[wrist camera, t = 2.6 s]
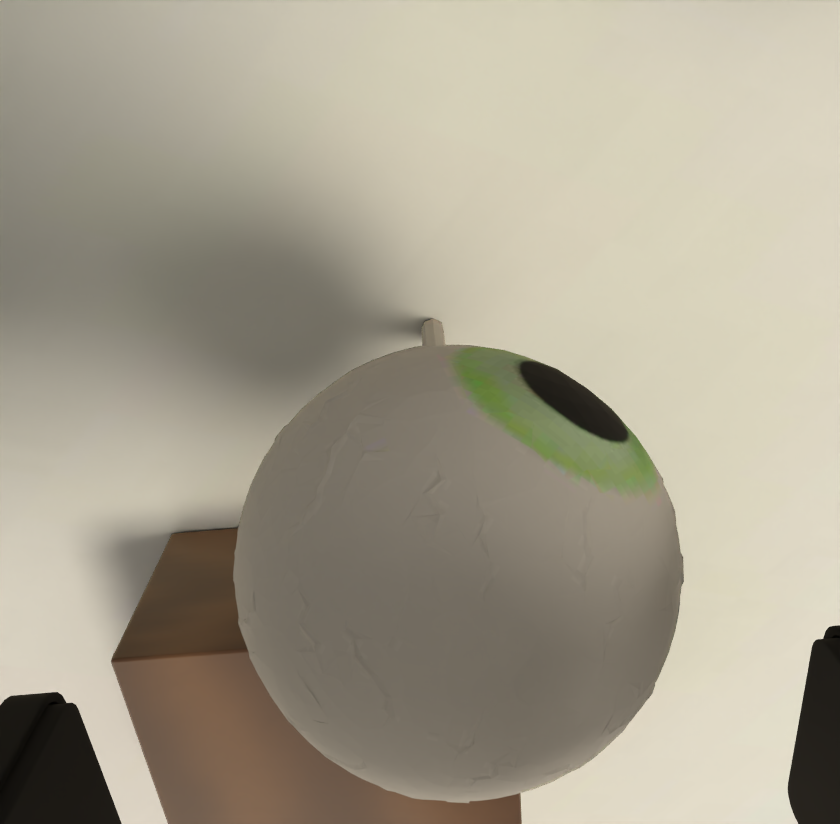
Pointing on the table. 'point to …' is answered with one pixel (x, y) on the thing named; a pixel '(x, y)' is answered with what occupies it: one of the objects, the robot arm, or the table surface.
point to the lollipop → (458, 572)
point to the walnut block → (238, 714)
